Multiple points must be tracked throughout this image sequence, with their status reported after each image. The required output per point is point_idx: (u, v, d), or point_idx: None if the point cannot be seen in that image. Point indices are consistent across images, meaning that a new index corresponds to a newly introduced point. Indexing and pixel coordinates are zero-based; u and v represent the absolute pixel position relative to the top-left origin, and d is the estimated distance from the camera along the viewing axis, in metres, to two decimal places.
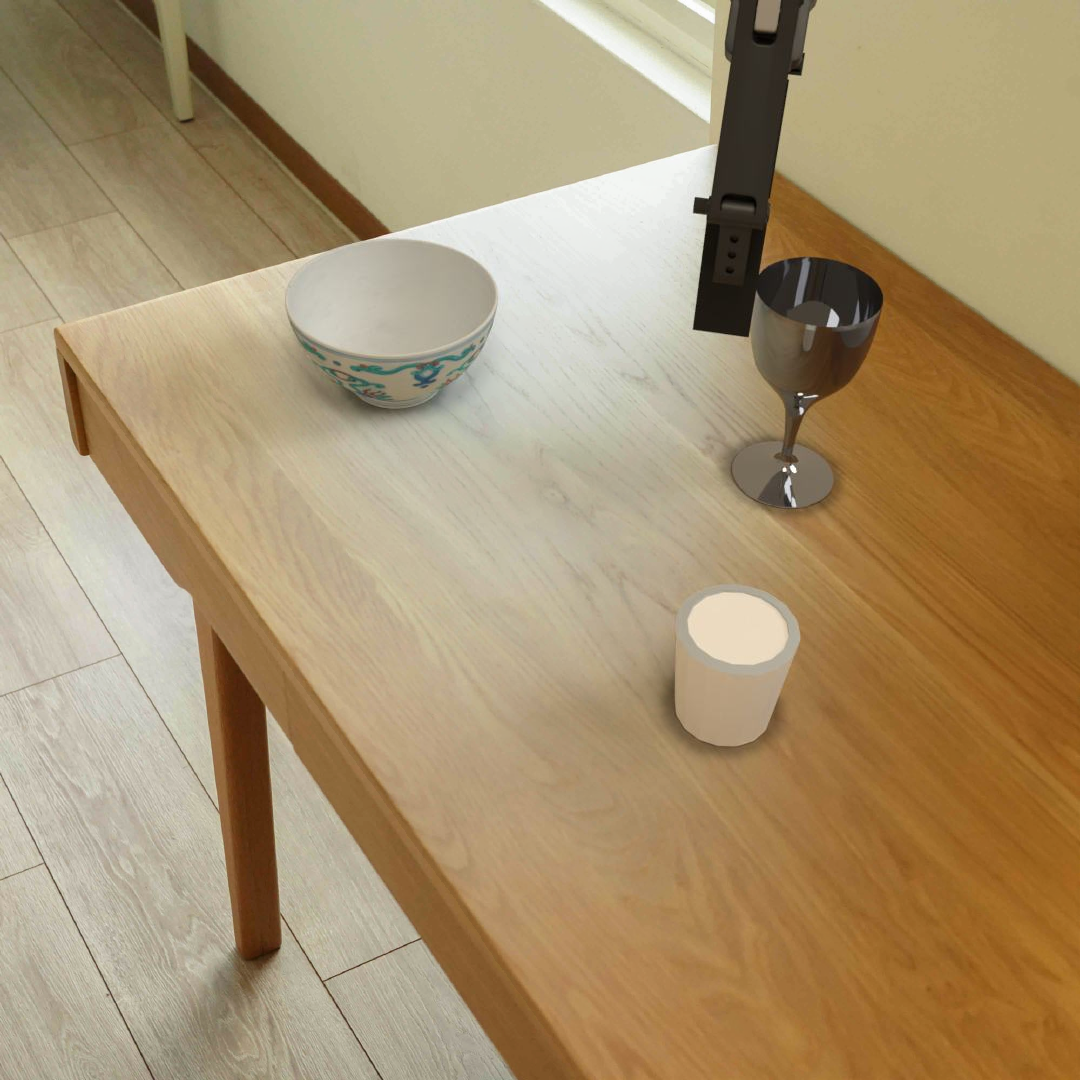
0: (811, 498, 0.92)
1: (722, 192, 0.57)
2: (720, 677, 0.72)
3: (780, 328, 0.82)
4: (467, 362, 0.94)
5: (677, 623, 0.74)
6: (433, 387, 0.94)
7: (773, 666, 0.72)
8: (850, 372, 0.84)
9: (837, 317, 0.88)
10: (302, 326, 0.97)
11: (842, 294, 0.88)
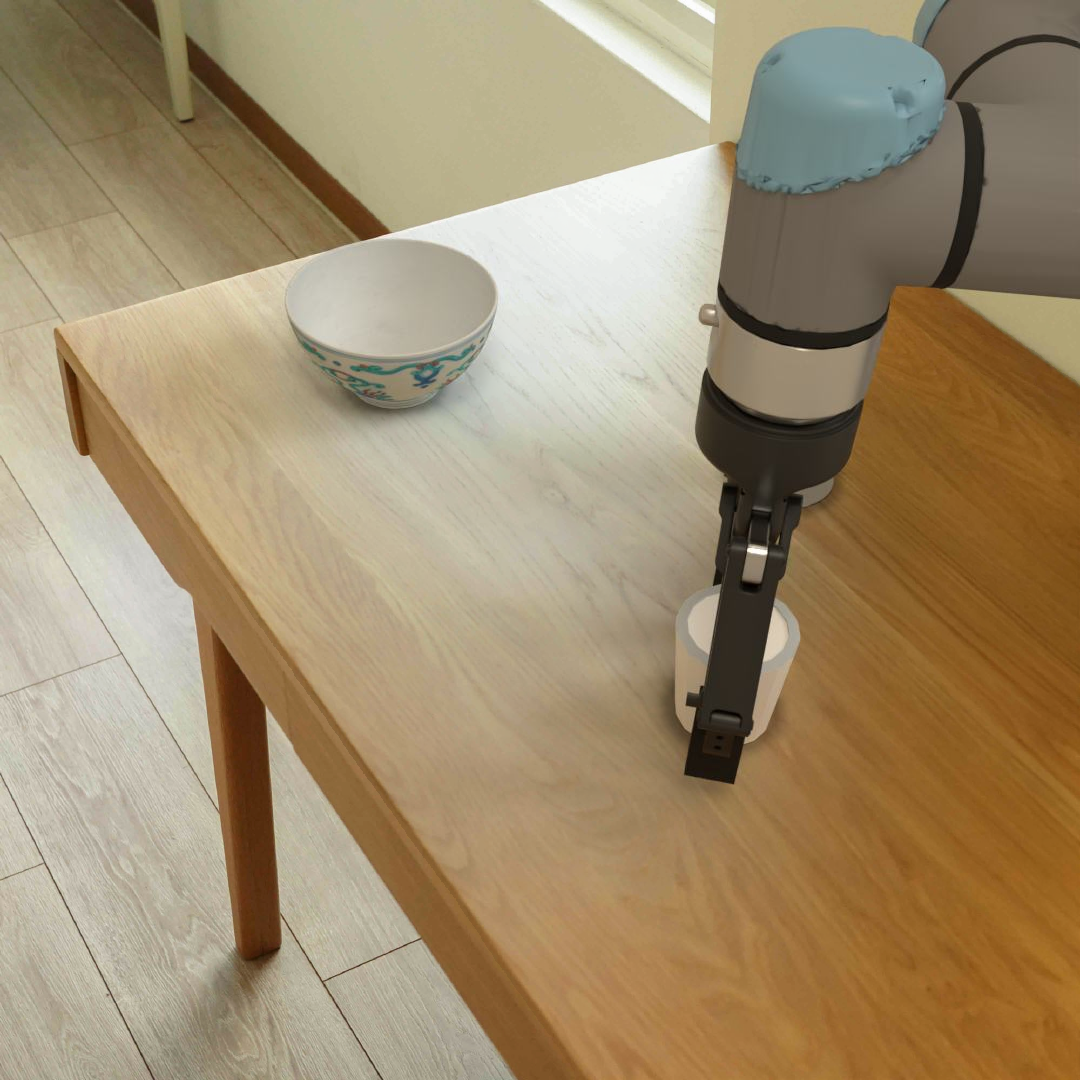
0: (811, 498, 0.92)
1: (711, 708, 0.64)
2: None
3: None
4: (467, 362, 0.94)
5: (677, 623, 0.74)
6: (433, 387, 0.94)
7: (774, 666, 0.72)
8: None
9: None
10: (302, 326, 0.97)
11: None
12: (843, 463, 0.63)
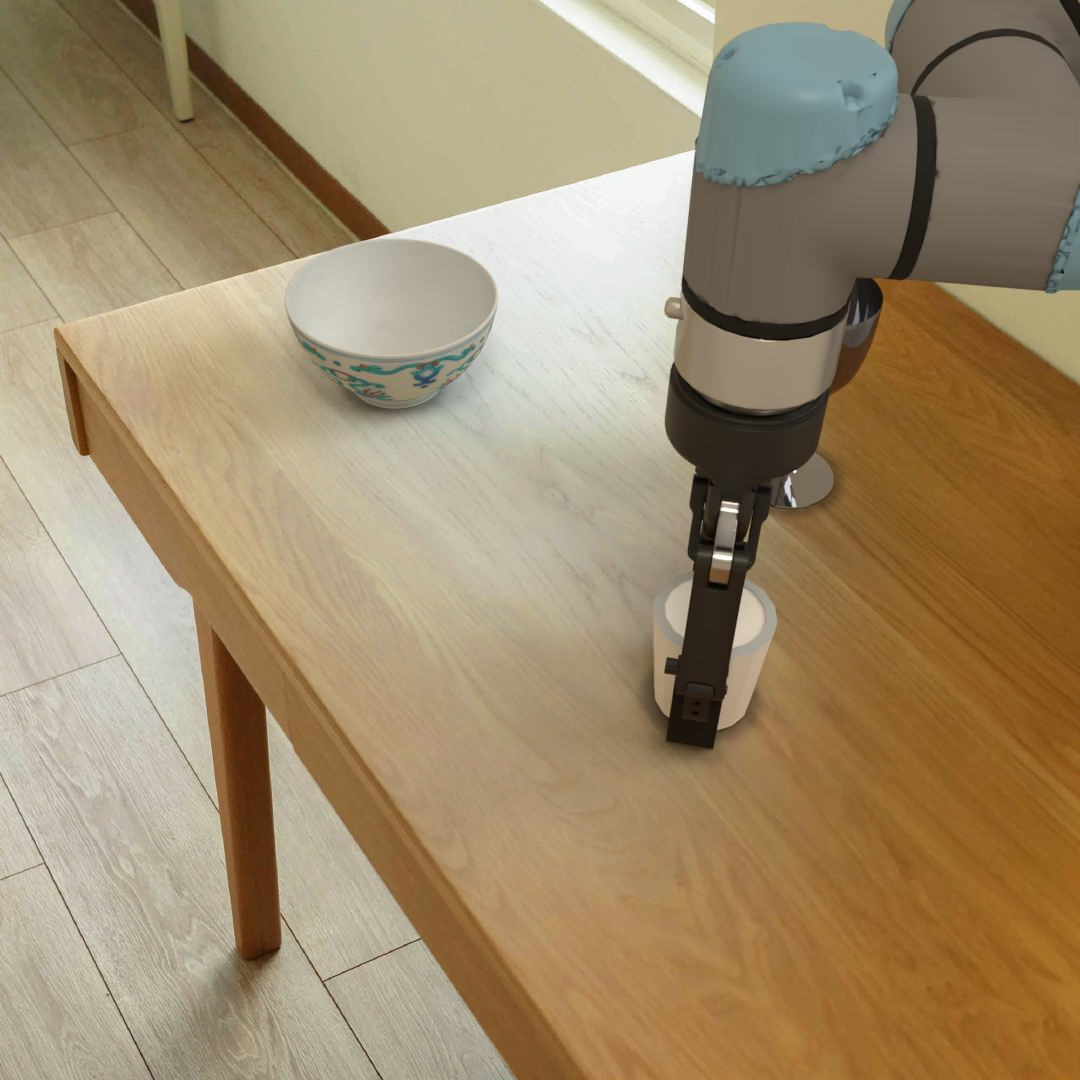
0: (811, 498, 0.92)
1: (686, 680, 0.68)
2: None
3: None
4: (467, 362, 0.94)
5: (655, 608, 0.74)
6: (433, 387, 0.94)
7: (750, 650, 0.72)
8: (850, 372, 0.84)
9: None
10: (302, 326, 0.97)
11: None
12: (810, 453, 0.64)
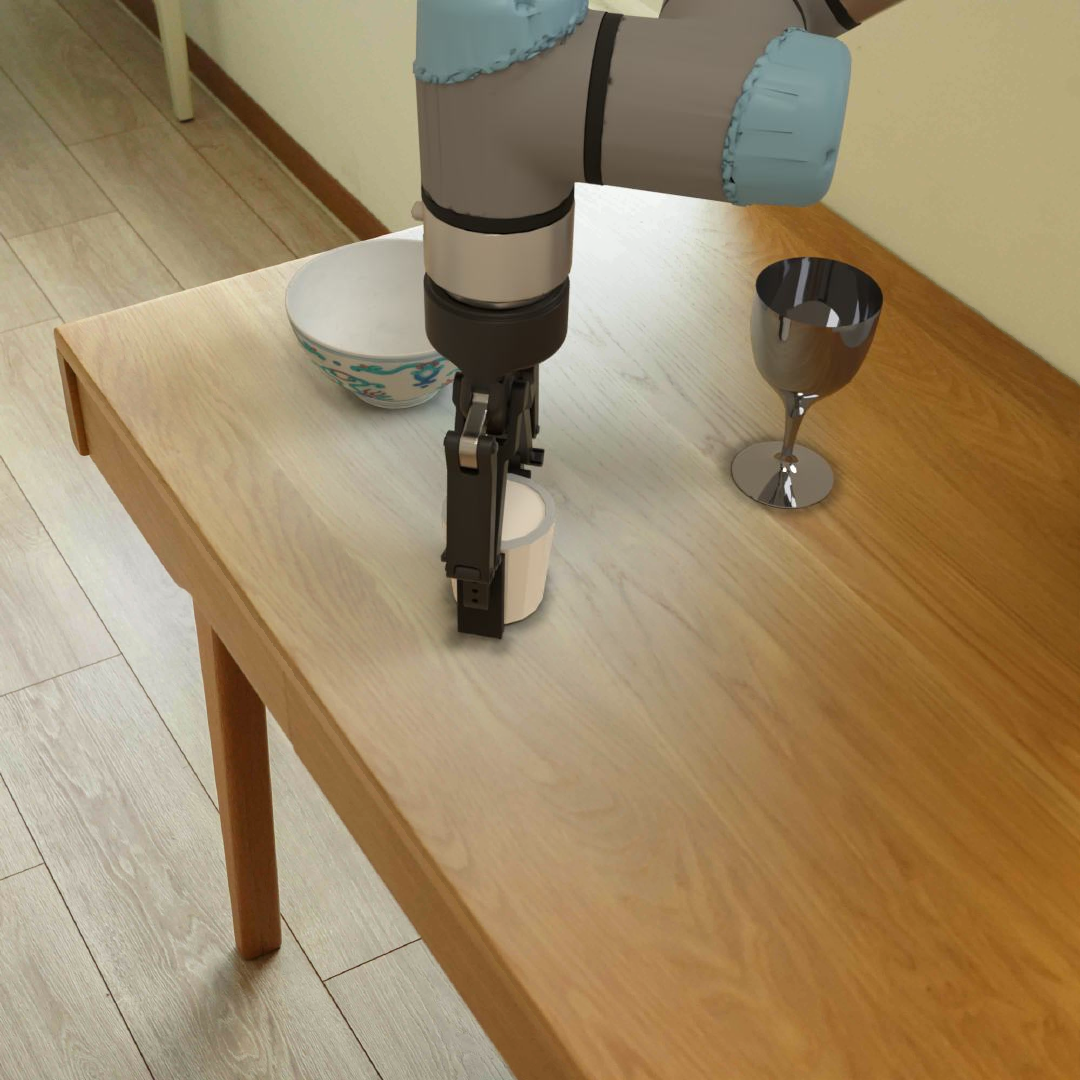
0: (811, 498, 0.92)
1: (454, 563, 0.74)
2: None
3: (780, 328, 0.82)
4: None
5: (443, 506, 0.80)
6: (433, 387, 0.94)
7: (526, 542, 0.78)
8: (850, 372, 0.84)
9: (837, 317, 0.88)
10: (302, 326, 0.97)
11: (842, 294, 0.88)
12: (553, 347, 0.69)
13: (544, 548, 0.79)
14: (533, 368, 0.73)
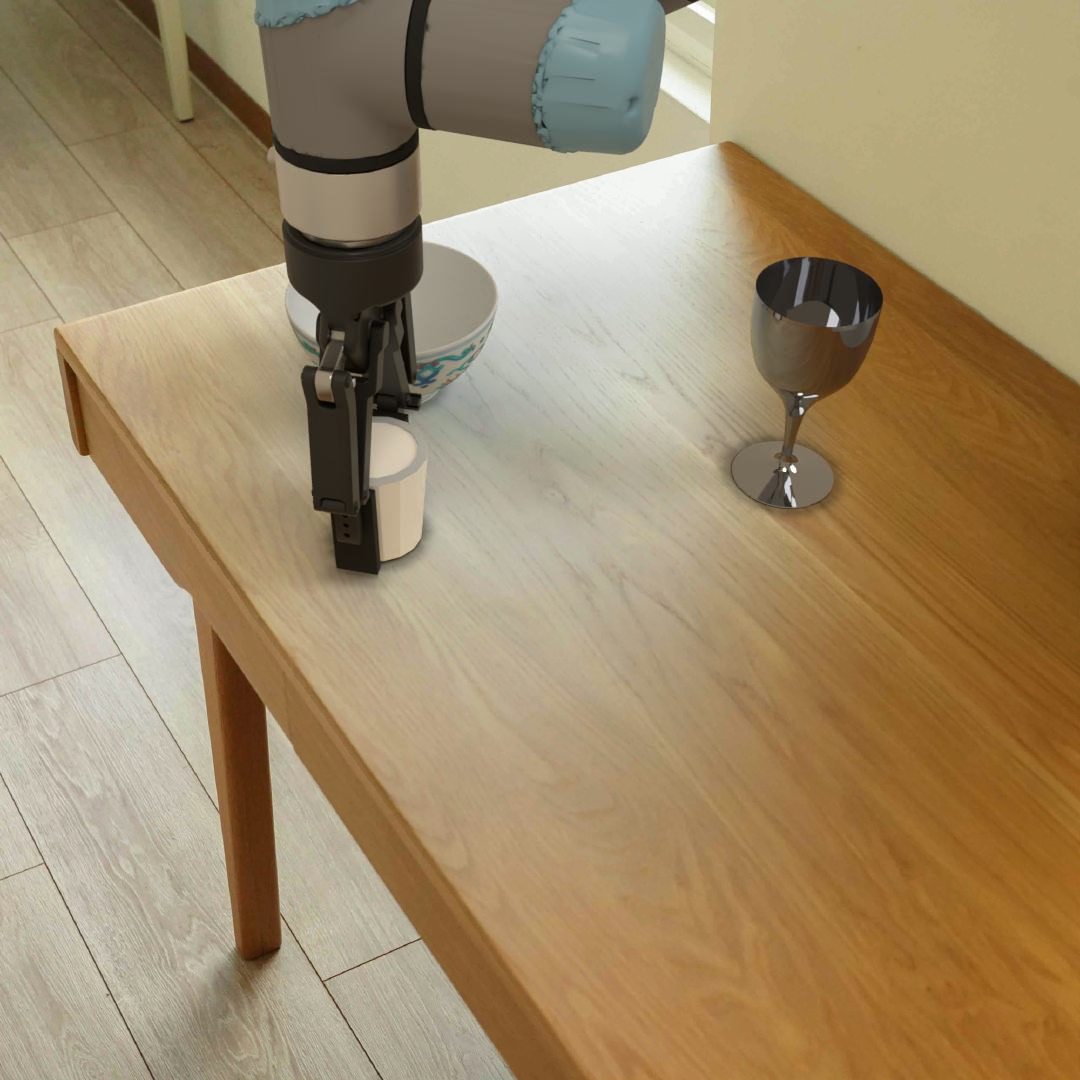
0: (811, 498, 0.92)
1: (320, 496, 0.77)
2: None
3: (780, 328, 0.82)
4: (467, 362, 0.94)
5: None
6: (433, 387, 0.94)
7: (396, 479, 0.81)
8: (850, 372, 0.84)
9: (837, 317, 0.88)
10: (302, 326, 0.97)
11: (842, 294, 0.88)
12: (406, 287, 0.73)
13: (416, 486, 0.83)
14: (395, 310, 0.77)
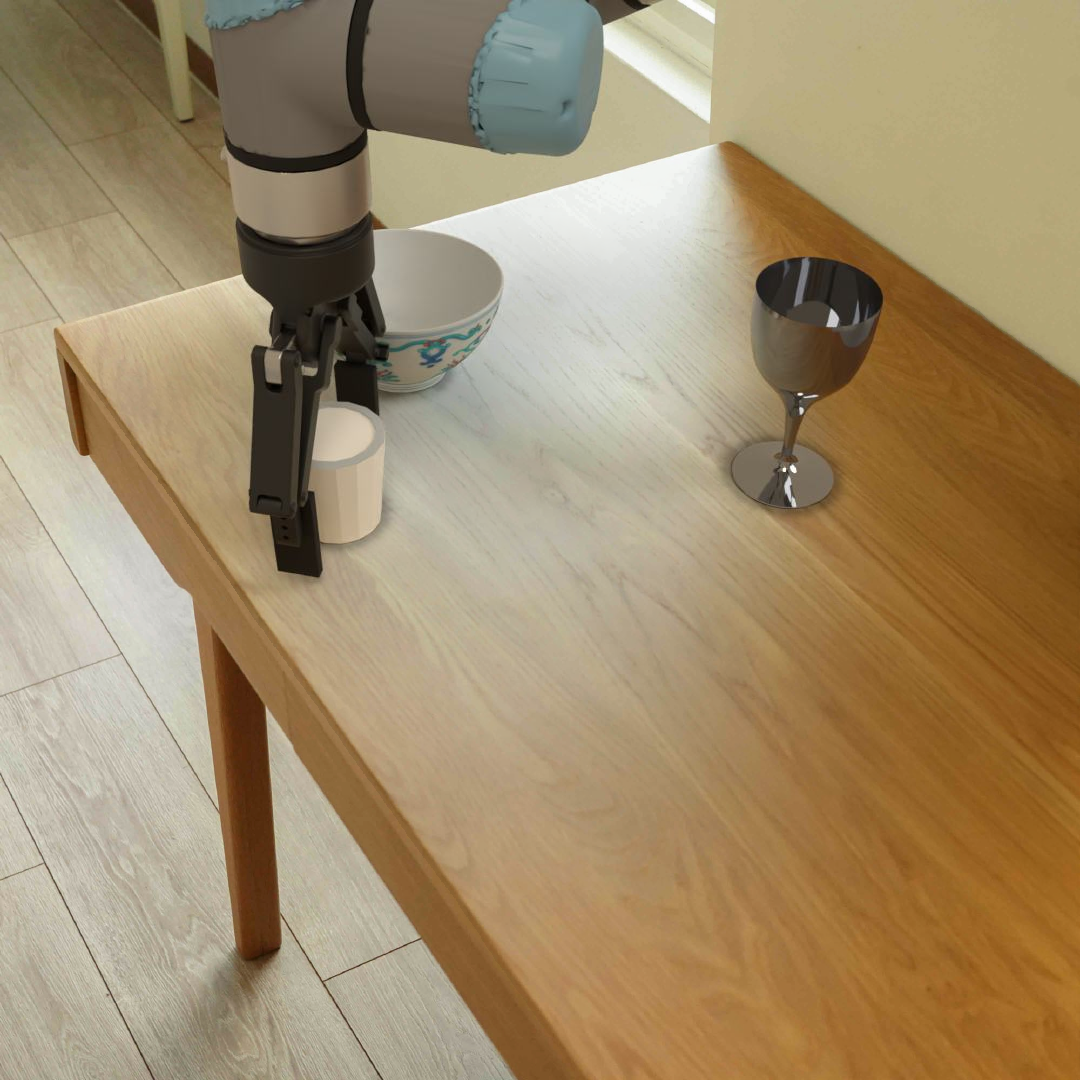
0: (811, 498, 0.92)
1: (257, 493, 0.76)
2: None
3: (780, 328, 0.82)
4: (473, 343, 0.95)
5: None
6: (439, 367, 0.95)
7: (352, 463, 0.83)
8: (850, 372, 0.84)
9: (837, 317, 0.88)
10: None
11: (842, 294, 0.88)
12: (356, 283, 0.75)
13: (373, 470, 0.85)
14: (348, 308, 0.79)
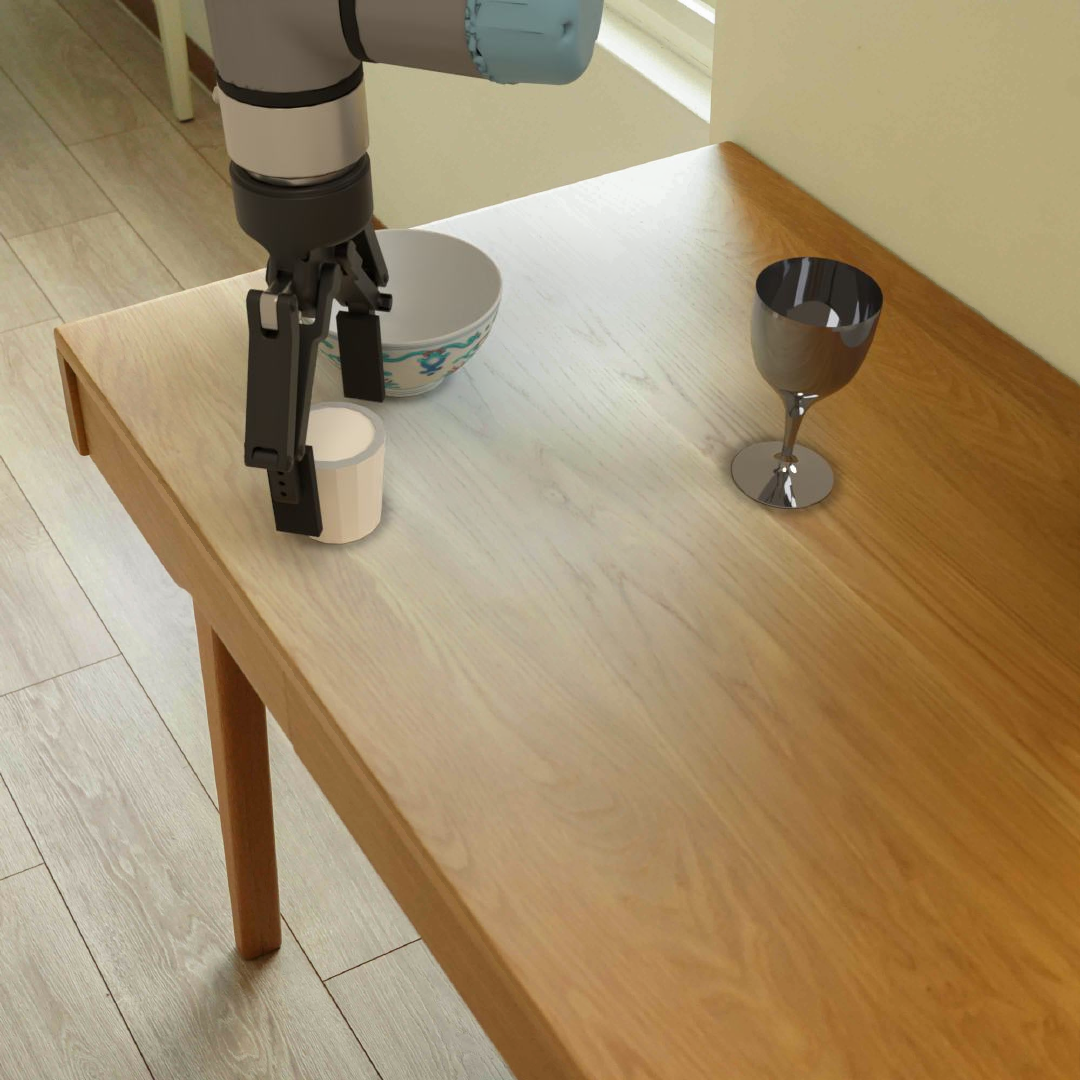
0: (811, 498, 0.92)
1: (252, 445, 0.74)
2: None
3: (780, 328, 0.82)
4: (473, 350, 0.95)
5: None
6: (439, 375, 0.95)
7: (353, 463, 0.83)
8: (850, 372, 0.84)
9: (837, 317, 0.88)
10: None
11: (842, 294, 0.88)
12: (354, 227, 0.72)
13: (373, 470, 0.85)
14: (347, 256, 0.77)
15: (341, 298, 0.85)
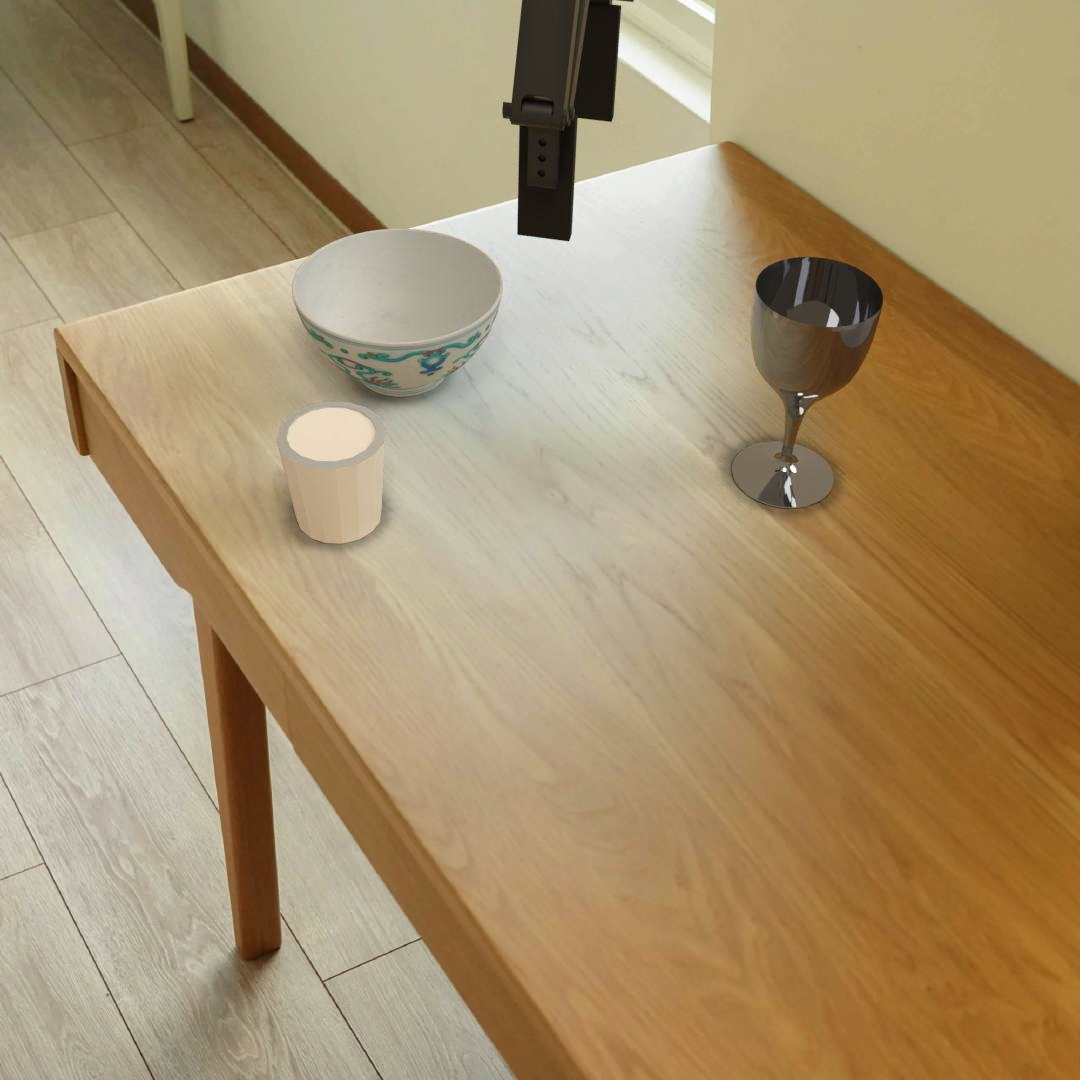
0: (811, 498, 0.92)
1: (522, 94, 0.61)
2: (306, 472, 0.83)
3: (780, 328, 0.82)
4: (473, 350, 0.95)
5: (279, 430, 0.85)
6: (439, 375, 0.95)
7: (352, 463, 0.83)
8: (850, 372, 0.84)
9: (837, 317, 0.88)
10: (309, 315, 0.98)
11: (842, 294, 0.88)
12: None
13: (373, 470, 0.85)
14: None
15: None
